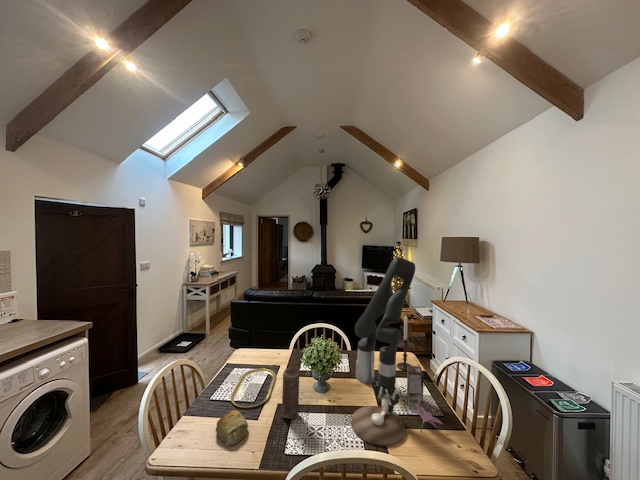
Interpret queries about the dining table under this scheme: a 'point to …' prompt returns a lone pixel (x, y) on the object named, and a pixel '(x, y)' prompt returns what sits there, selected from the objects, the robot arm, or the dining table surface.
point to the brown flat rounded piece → (377, 427)
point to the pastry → (231, 427)
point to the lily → (426, 416)
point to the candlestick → (405, 346)
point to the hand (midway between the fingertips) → (385, 408)
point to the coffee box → (415, 386)
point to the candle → (290, 393)
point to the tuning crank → (379, 418)
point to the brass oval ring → (243, 379)
